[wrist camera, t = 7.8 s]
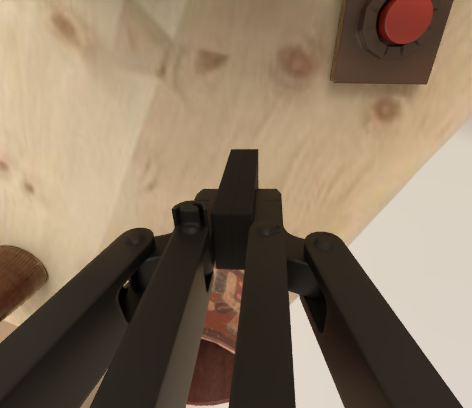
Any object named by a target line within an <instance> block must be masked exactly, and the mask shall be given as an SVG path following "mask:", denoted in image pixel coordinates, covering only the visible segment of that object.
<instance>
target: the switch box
mask: <svg viewBox="0 0 472 408" xmlns="http://www.w3.org/2000/svg"><path fill="white" fill-rule="evenodd" d="M389 1H390V0H342V7H341V13H340V20H339V26H338V33H337V39H336V46H335V52H334V58H333V65H332V71H331V78H330V80H331V81H332V82H333V83H367V84H427V82H428V79H429V76H430V73H431V70H432V67H433V63H434V60H435V57H436V54H437V51H438V48H439V44H440V41H441V38H442V35H443V32H444V29H445V26H446V22H447V19H448V16H449V13H450V10H451V7H452V3H453V0H431V2H432V5H433V16H432V20H431V22H430V25H429V26H428V28H427V30H426V31H425V32H424V33H423V34H422V35H421V36H420V37H419V38H418V39H416V40H415V41H413V42H410V43H407V44H396V43H390V42H387V41H386V40H384V39H383V38H382V37H381V35H380V33H379V29H378V22H379V17H380V14H381V12H382V10H383V8H384V7H385V6H386V4H387V3H388V2H389Z"/></svg>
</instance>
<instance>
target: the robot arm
mask: <svg viewBox="0 0 472 408" xmlns="http://www.w3.org/2000/svg"><path fill="white" fill-rule="evenodd" d="M172 214H173V219H174V225H175V228H174V230H173V232H172V233H170V234H166V235H160V236H155V237H154V235H153V232H152V231H151V230H149V229H147V228H134V229H131V230H128V231H126V232H124V233H123V234H121V235H120V236H119V237H118V238H117V239H116V240H115V241H113V242H112V243H111V244H110V245H109V246H108V247H107V248H106V249H105V250H103V251H102V252H101V253H100V254H99V255H98V256H97V257H96V258H95V259H93V260H92V261H91V262H90V263H89V264H88V265H87V266H86V267H85V268H83V269H82V270H81V271H80V272H79V273H78V274H77V275H76V276H75V277H73V278H72V279H71V280H70V281H69V282H68V283H67V284H66V285H65V286H63V287H62V288H61V289H60V290H59V291H58V292H57V293H56V294H55V295H53V296H52V297H51V298H50V299H49V300H48V301H47V302H46V303H45V304H43V305H42V306H41V307H40V308H39V309H38V310H37V311H36V312H35V313H33V314H32V315H31V316H30V317H29V318H28V319H27V320H26V321H25V322H23V323H22V324H21V325H20V326H19V327H18V328H17V329H16V330H15V331H13V332H12V333H11V334H10V335H9V336H8V337H7V338H6V339H5V340H4V341H2V342H1V343H0V408H80V407H81V405H82V404H83V402H84V401H85V400H86V398H87V397H88V396H89V394H90V393H91V391H92V390H93V389H94V387H95V386H96V384H97V383H98V382H99V380H100V379H101V378H102V376H103V375H104V373H105V372H106V371H107V372H106V374H105V376H104V378H103V380H102V383H101V385H100V387H99V389H98V391H97V393H96V395H95V397H94V400H93V402H92V404H91V406H90V408H186V404H187V399H188V395H189V390H190V386H191V381H192V377H193V372H194V368H195V363H196V359H197V354H198V350H199V345H200V341H201V336H202V332H203V327H204V322H205V318H206V313H207V309H208V304H209V300H210V295H211V291H212V286H213V282H214V269H213V268H214V264H215V262H216V269H231V270H244V277H243V286H242V295H241V304H240V312H239V321H238V330H237V339H236V347H235V356H234V365H233V374H232V382H231V391H230V400H229V408H295V407H296V406H295V391H294V374H293V358H292V341H291V325H290V309H289V292H288V291H291V292H294V293H297V294H299V295H300V300H301V302H302V304H303V307H304V310H305V312H306V314H307V317H308V319H309V322H310V324H311V326H312V329H313V332H314V334H315V336H316V339H317V341H318V344H319V346H320V348H321V351H322V353H323V356H324V358H325V361H326V363H327V366H328V368H329V371H330V373H331V375H332V378H333V380H334V383H335V385H336V387H337V390H338V392H339V395H340V397H341V400H342V402H343V405H344V407H345V408H463V407H462V405H461V404H460V403H459V401H458V400H457V398H456V397H455V396H454V394H453V393H452V392H451V390H450V389H449V387H448V386H447V385H446V383H445V382H444V380H443V379H442V378H441V376H440V375H439V374H438V372H437V371H436V370H435V368H434V367H433V366H432V364H431V363H430V361H429V360H428V359H427V357H426V356H425V354H424V353H423V352H422V350H421V349H420V347H419V346H418V345H417V343H416V342H415V340H414V339H413V338H412V336H411V335H410V334H409V332H408V331H407V329H406V328H405V327H404V325H403V324H402V322H401V321H400V320H399V318H398V317H397V316H396V314H395V313H394V311H393V310H392V309H391V307H390V306H389V304H388V303H387V302H386V300H385V299H384V298H383V296H382V295H381V293H380V292H379V291H378V289H377V288H376V286H375V285H374V284H373V282H372V281H371V280H370V278H369V277H368V275H367V274H366V273H365V271H364V270H363V269H362V267H361V266H360V264H359V263H358V262H357V260H356V259H355V258H354V256H353V255H352V253H351V252H350V251H349V249H348V248H347V246H346V245H345V244H344V242H343V241H342V240H341V239H340V238H339V237H338V236H336V235H334V234H332V233H327V232H314V233H311V234H309V235H308V236H306V238H305V239H302V238H298V237H295V236H293V235H291V234H289V233H288V232H287V231H286V230H285V229H284V227H283V216H282V199H281V194H280V192H279V191H278V190H277V189H258V149H231V152H230V155H229V158H228V161H227V164H226V167H225V171H224V174H223V177H222V180H221V183H220V186H219V189H203V190H201V191H200V192H199V193H198V194H197V195H196V197H195V200H194V201H185V202H181V203H179V204H177V205H175V206H174V207H173V208H172ZM128 280H129V282H128V283H127V284H126V285H125V286H124V287H123V285H124V284H125V283H126V282H127V281H128ZM107 369H108V370H107Z"/></svg>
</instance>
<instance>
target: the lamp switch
mask: <svg viewBox="0 0 472 408" xmlns="http://www.w3.org/2000/svg"><path fill="white" fill-rule="evenodd" d="M432 16H433V5H432V2H431V0H390V1H389V2H388V3H387V4H386V6H385V7H384V8H383V10H382V12H381V14H380V17H379V22H378V29H379V33H380V35H381V37H382V38H383V39H384V40H386V41H387V42H390V43H396V44H407V43H410V42H413V41H415V40H416V39H418V38H419V37H420V36H421V35H422V34H423V33H424V32H425V31H426V30H427V28H428V26H429V25H430V22H431V20H432Z"/></svg>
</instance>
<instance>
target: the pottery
mask: <svg viewBox="0 0 472 408" xmlns="http://www.w3.org/2000/svg"><path fill="white" fill-rule="evenodd" d="M213 269H214V282H213V286H212V291H211V295H210V300H209V304H208V309H207V313H206V318H205V322H204V327H203V332H202V336H201V341H200V345H199V350H198V354H197V359H196V363H195V368H194V372H193V377H192V381H191V386H190V390H189V395H188V399H187V404H188V405H195V406H198V405H199V406H202V405H217V404H222V403H227V402H229V400H230V391H231V382H232V374H233V365H234V356H235V347H236V339H237V330H238V321H239V312H240V304H241V295H242V286H243V277H244V270H231V269H216V262H215V264H214V268H213Z"/></svg>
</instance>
